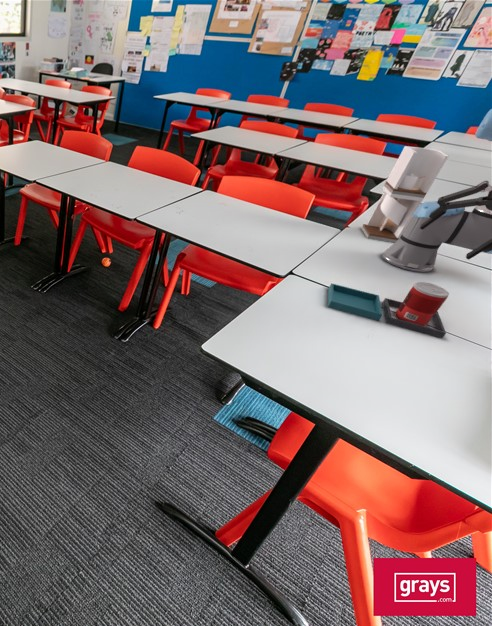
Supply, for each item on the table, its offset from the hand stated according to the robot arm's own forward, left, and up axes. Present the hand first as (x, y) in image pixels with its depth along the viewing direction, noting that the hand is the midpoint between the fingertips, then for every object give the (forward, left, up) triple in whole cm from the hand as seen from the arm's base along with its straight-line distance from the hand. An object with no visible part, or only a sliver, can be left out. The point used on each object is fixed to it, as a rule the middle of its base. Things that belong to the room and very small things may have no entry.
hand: (444, 241), depth 119 cm
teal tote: (+6, -13, -23) cm, 27 cm away
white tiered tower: (-68, -1, -23) cm, 72 cm away
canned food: (+6, +2, -23) cm, 24 cm away
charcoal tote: (+6, +2, -23) cm, 24 cm away
